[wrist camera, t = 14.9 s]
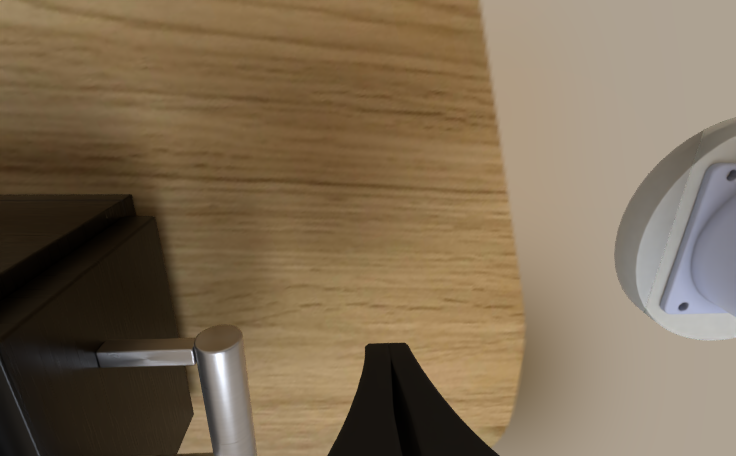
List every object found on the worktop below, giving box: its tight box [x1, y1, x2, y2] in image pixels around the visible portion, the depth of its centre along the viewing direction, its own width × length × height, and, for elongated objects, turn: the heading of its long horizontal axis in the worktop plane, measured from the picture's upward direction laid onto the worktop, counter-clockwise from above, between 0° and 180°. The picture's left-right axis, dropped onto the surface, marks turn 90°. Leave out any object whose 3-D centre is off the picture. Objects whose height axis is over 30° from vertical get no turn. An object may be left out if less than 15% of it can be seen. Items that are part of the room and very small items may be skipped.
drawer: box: [0, 216, 257, 456], centre depth 14 cm, size 17×10×8 cm, turn 89°
